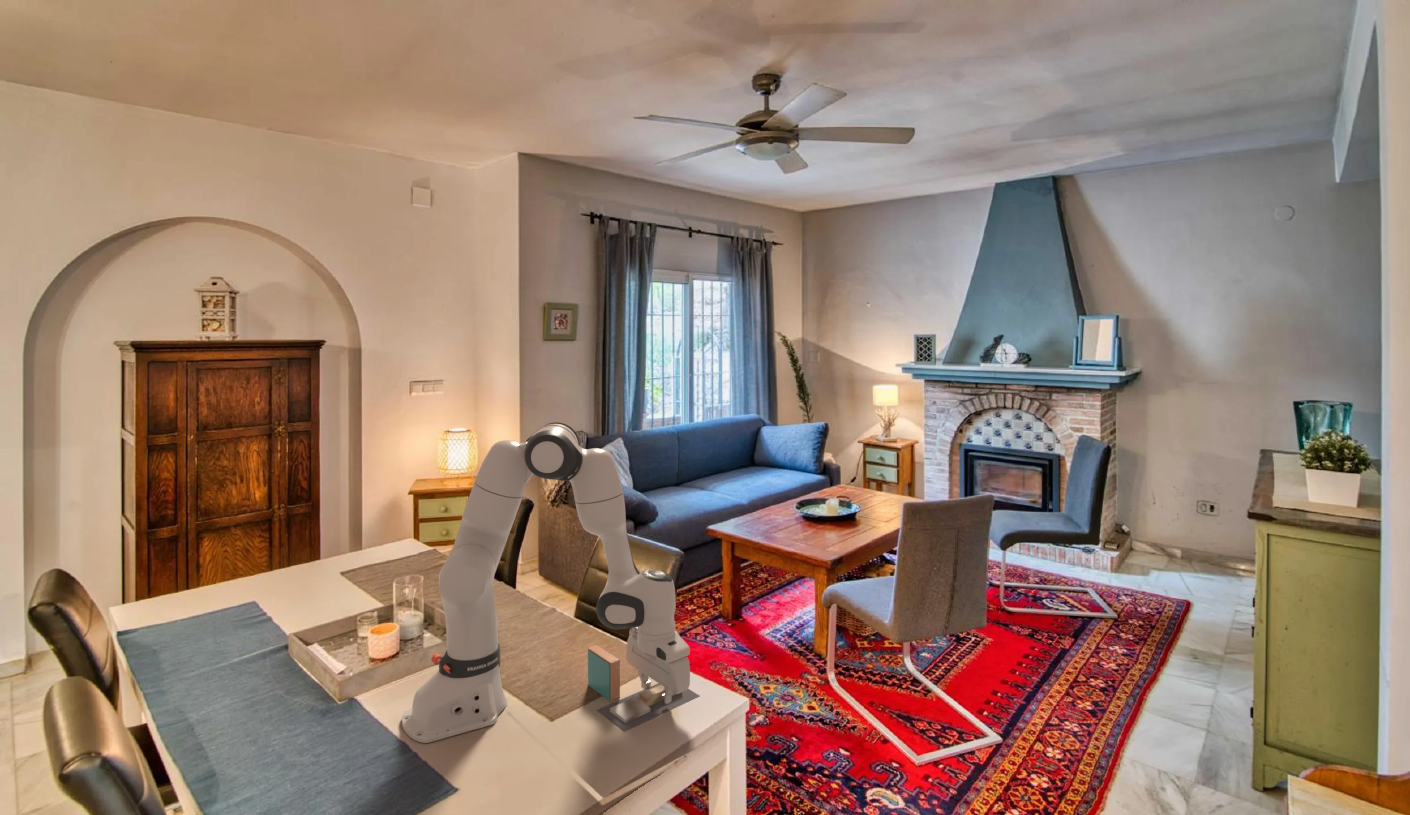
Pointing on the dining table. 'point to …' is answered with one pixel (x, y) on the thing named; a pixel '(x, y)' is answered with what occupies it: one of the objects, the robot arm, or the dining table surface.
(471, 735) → the dining table surface
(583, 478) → the robot arm
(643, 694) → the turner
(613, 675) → the tile
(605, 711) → the mat
